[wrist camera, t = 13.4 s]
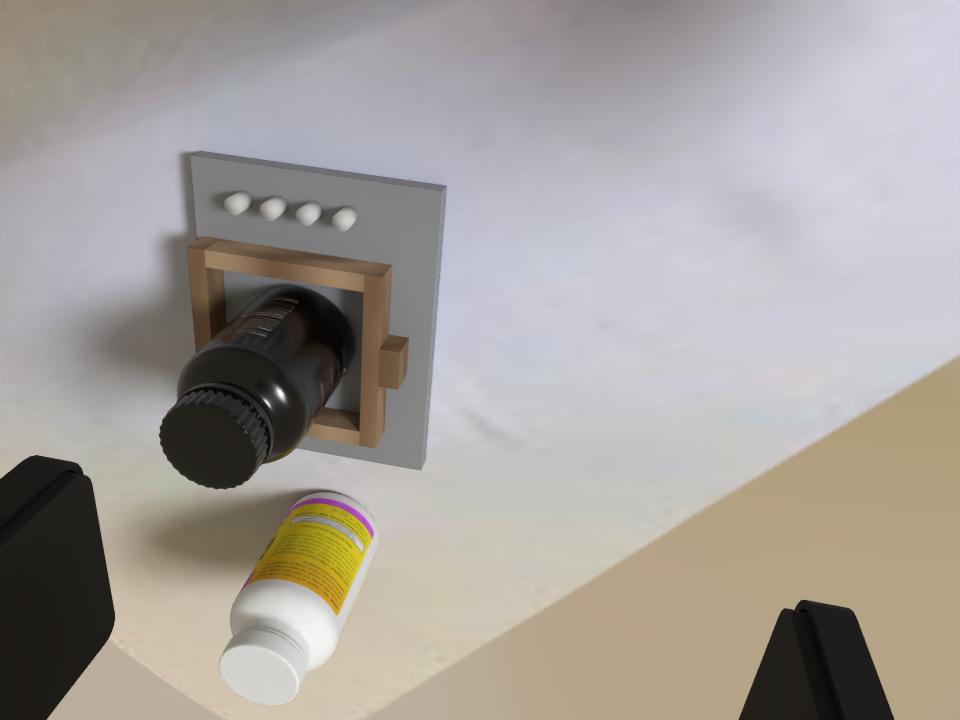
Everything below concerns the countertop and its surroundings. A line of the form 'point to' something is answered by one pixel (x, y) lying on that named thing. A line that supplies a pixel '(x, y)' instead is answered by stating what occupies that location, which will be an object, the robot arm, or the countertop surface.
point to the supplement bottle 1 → (257, 387)
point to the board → (349, 234)
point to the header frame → (379, 349)
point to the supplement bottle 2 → (298, 597)
